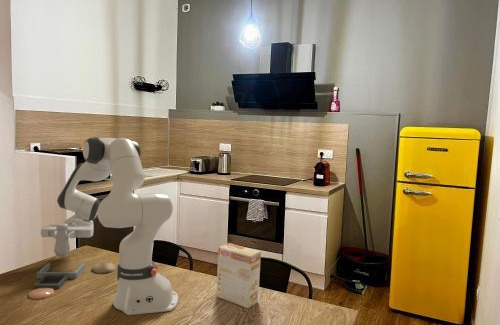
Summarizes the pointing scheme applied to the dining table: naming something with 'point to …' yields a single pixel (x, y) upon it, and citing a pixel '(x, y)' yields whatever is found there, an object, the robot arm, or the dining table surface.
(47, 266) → the cubby bay
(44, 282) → the hole frame
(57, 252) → the salt shaker
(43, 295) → the coaster
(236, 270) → the coffeecake box
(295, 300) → the dining table surface
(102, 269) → the cork trivet
